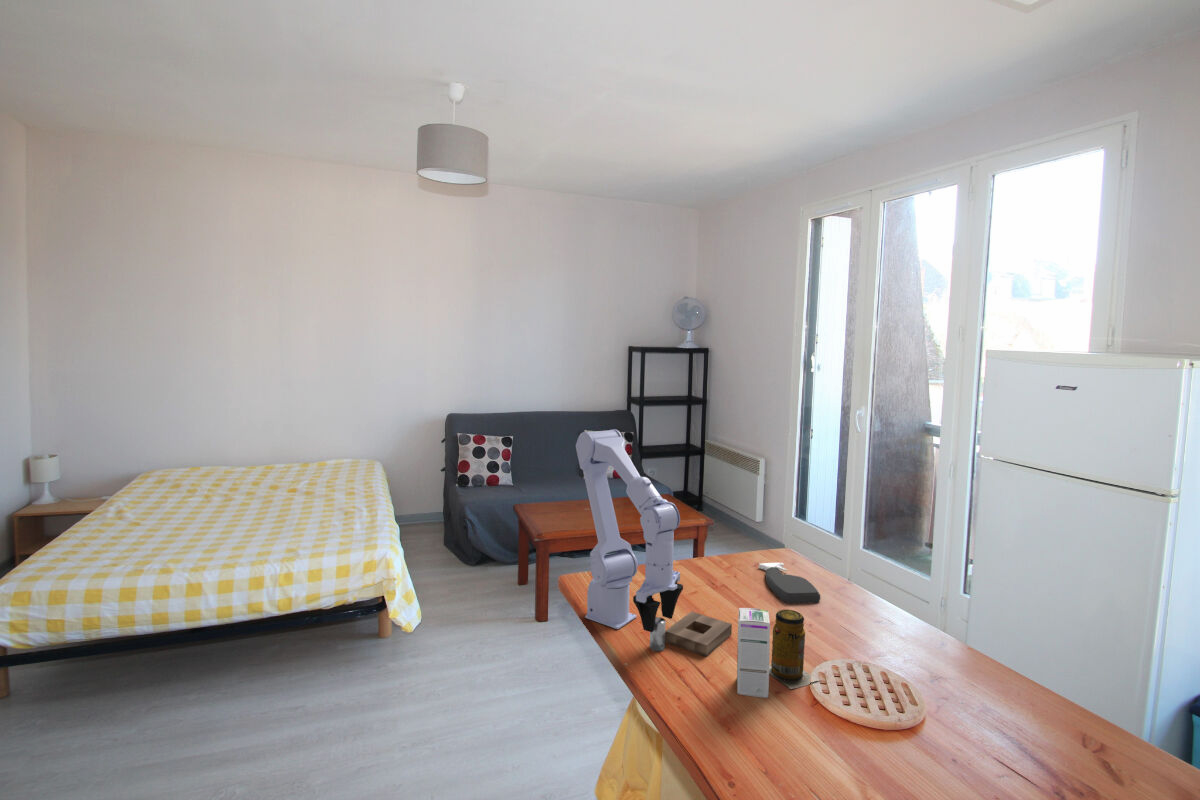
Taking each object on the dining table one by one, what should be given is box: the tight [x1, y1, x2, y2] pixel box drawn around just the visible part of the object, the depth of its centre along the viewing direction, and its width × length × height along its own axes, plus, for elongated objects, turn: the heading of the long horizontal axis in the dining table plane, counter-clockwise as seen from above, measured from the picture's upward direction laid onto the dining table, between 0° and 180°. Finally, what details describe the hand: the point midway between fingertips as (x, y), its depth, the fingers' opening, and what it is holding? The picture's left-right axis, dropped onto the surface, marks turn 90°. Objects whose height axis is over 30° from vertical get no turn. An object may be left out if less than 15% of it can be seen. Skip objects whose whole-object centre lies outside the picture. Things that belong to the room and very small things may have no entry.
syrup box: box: [736, 607, 771, 699], centre depth 116 cm, size 6×6×14 cm
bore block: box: [665, 611, 733, 658], centre depth 135 cm, size 10×12×2 cm
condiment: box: [769, 609, 812, 690], centre depth 121 cm, size 7×8×12 cm
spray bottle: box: [758, 562, 821, 604], centre depth 166 cm, size 3×11×24 cm
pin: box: [649, 616, 667, 652], centre depth 131 cm, size 3×3×6 cm
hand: (658, 623), depth 131 cm, fingers open, 7 cm apart
